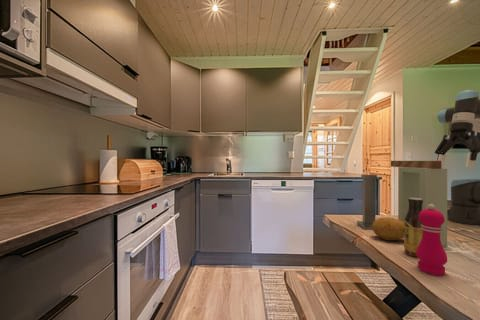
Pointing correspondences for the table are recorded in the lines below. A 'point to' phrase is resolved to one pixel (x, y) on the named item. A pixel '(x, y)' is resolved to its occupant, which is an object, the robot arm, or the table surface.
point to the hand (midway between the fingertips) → (453, 167)
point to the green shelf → (423, 192)
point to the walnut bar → (417, 164)
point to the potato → (388, 228)
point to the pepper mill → (431, 242)
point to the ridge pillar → (368, 201)
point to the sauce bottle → (413, 226)
